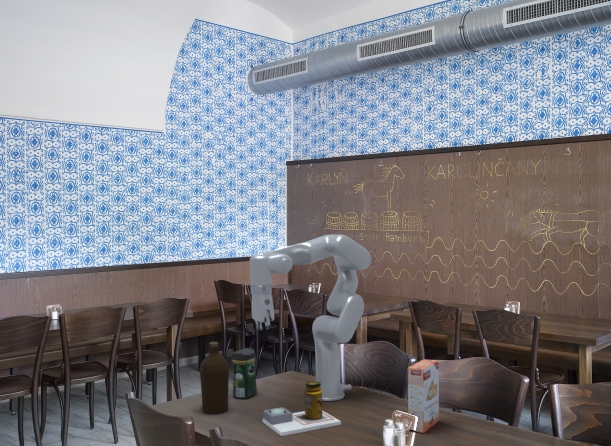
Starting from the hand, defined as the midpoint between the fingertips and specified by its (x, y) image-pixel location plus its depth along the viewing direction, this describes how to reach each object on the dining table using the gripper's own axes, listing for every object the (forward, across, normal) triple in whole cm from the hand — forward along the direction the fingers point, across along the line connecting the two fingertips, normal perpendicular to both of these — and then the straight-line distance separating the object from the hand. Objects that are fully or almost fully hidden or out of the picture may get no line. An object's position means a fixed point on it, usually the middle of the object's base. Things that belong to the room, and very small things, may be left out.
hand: (262, 340), depth 225 cm
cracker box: (+27, -41, -39) cm, 63 cm away
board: (+26, -17, -6) cm, 32 cm away
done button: (+25, -12, +1) cm, 28 cm away
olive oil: (+26, +13, +14) cm, 33 cm away
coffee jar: (+27, +24, -2) cm, 36 cm away
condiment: (+25, -17, -9) cm, 32 cm away
